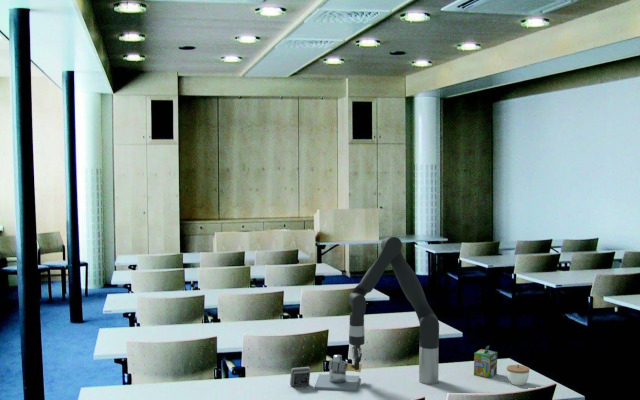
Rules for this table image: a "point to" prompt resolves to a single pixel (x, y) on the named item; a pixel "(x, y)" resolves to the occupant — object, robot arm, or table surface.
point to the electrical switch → (300, 377)
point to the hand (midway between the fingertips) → (356, 369)
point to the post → (337, 372)
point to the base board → (349, 385)
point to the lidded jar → (517, 374)
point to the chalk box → (485, 363)
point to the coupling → (342, 366)
